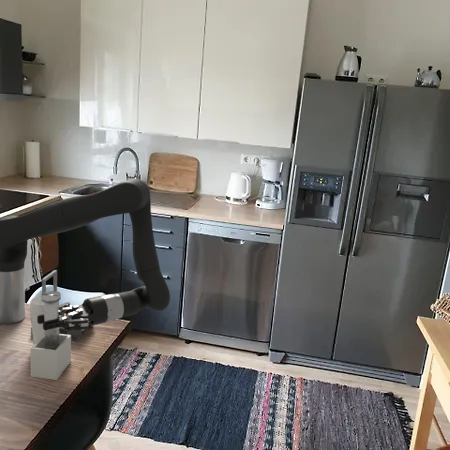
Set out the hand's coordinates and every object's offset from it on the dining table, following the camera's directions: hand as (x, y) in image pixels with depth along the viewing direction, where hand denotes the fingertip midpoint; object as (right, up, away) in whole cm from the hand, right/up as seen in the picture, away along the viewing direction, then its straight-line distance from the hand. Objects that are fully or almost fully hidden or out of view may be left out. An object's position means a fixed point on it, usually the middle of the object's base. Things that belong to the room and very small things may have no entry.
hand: (40, 323), depth 118 cm
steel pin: (+2, -7, +4) cm, 8 cm away
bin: (+1, -13, +5) cm, 14 cm away
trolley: (-2, -8, +26) cm, 27 cm away
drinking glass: (-5, -11, +15) cm, 19 cm away
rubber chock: (-10, -8, +22) cm, 25 cm away
